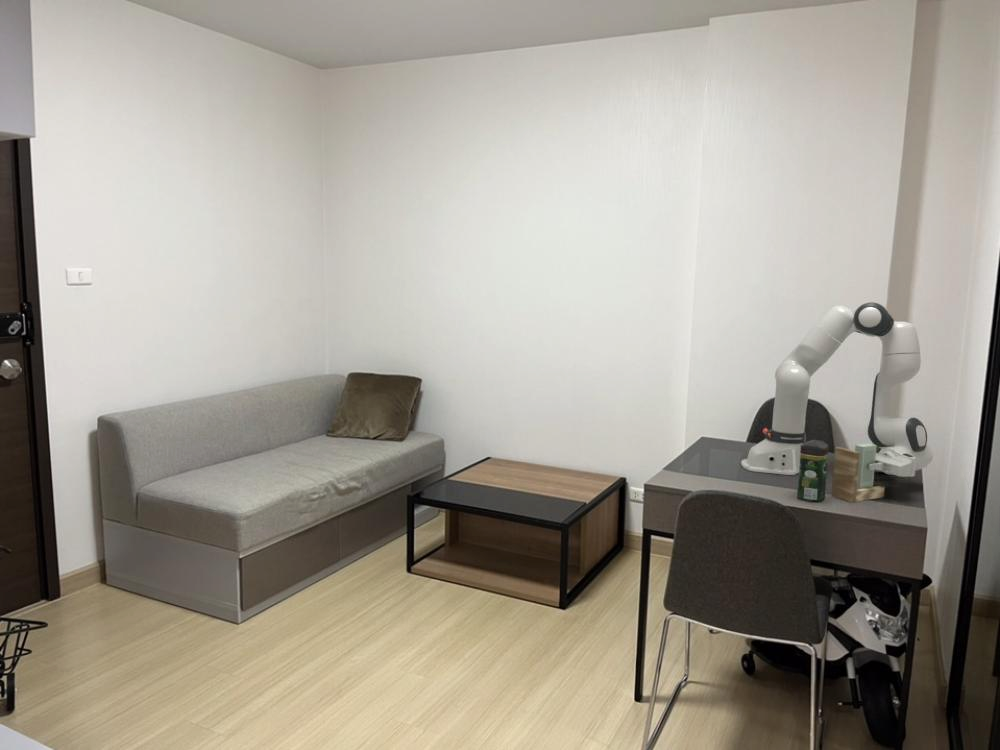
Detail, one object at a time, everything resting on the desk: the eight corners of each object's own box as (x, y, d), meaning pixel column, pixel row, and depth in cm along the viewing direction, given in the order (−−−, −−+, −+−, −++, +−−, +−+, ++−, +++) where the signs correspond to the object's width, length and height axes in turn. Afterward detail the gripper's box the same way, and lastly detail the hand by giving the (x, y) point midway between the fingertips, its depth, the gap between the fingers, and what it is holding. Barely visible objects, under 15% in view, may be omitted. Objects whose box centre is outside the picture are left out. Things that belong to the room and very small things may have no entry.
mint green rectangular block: (860, 489, 244) (863, 447, 242) (851, 487, 246) (855, 445, 244) (873, 487, 246) (876, 445, 244) (864, 484, 249) (868, 443, 247)
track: (850, 502, 240) (855, 453, 237) (831, 495, 246) (835, 447, 244) (883, 496, 246) (888, 448, 244) (864, 490, 253) (868, 443, 250)
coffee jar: (801, 491, 250) (806, 436, 247) (827, 496, 245) (832, 440, 243) (793, 499, 242) (798, 442, 239) (819, 504, 238) (824, 446, 235)
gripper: (865, 444, 260) (836, 448, 254) (920, 458, 241) (890, 463, 235) (864, 462, 260) (835, 466, 255) (919, 477, 242) (889, 482, 236)
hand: (862, 465), depth 245 cm, fingers closed on mint green rectangular block, 3 cm apart
